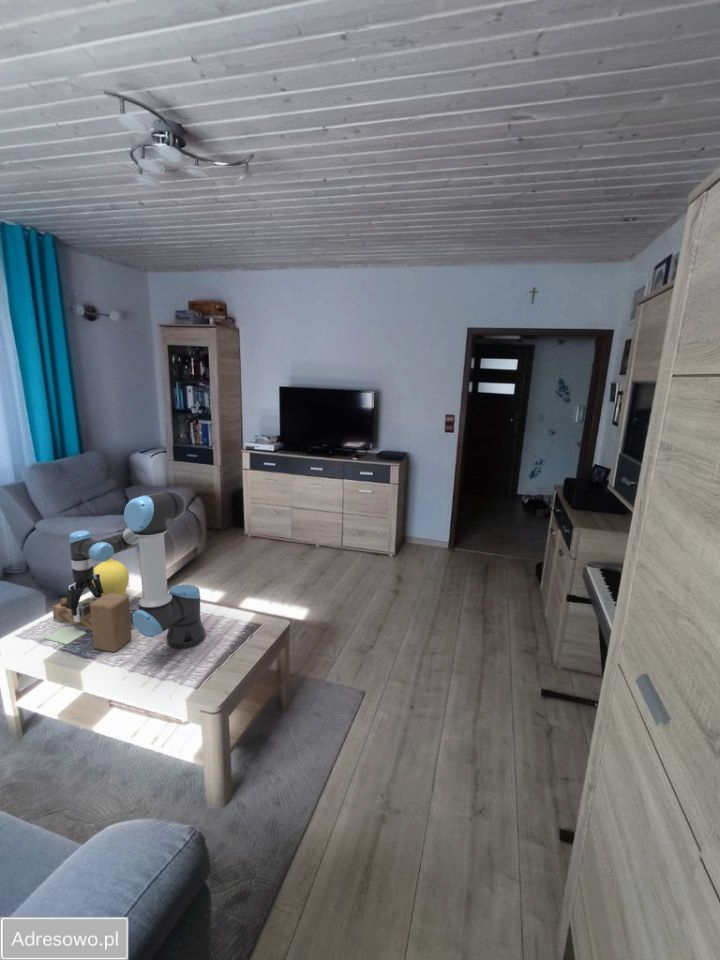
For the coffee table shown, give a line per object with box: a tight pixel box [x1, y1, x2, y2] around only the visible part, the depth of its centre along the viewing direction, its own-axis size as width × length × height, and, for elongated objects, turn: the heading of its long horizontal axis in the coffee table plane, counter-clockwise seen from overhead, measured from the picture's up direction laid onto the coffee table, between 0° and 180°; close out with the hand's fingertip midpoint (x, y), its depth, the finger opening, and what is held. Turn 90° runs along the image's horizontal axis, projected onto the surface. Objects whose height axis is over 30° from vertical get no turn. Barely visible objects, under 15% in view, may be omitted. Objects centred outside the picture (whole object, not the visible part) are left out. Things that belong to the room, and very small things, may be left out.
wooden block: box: [90, 593, 132, 653], centre depth 172 cm, size 10×10×20 cm
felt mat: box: [43, 626, 88, 646], centre depth 177 cm, size 12×9×1 cm
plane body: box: [52, 596, 96, 632], centre depth 186 cm, size 26×5×13 cm, turn 73°
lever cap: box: [77, 597, 96, 616], centre depth 184 cm, size 6×8×5 cm
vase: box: [92, 556, 130, 598], centre depth 205 cm, size 16×16×28 cm
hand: (86, 616), depth 185 cm, fingers open, 9 cm apart
